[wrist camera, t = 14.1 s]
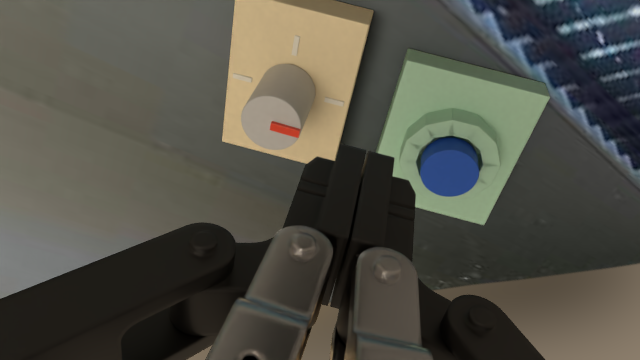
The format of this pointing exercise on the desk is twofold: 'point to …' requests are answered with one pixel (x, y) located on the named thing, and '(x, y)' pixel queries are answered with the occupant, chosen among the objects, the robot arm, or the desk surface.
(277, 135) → the dial
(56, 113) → the desk surface
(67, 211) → the desk surface
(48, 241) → the desk surface
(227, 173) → the desk surface
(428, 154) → the button
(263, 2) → the panel
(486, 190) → the green push-button base
